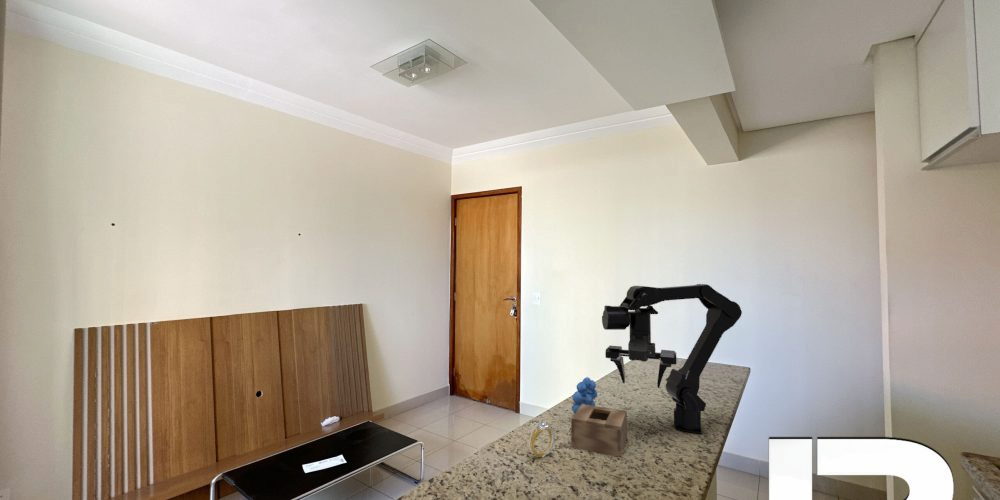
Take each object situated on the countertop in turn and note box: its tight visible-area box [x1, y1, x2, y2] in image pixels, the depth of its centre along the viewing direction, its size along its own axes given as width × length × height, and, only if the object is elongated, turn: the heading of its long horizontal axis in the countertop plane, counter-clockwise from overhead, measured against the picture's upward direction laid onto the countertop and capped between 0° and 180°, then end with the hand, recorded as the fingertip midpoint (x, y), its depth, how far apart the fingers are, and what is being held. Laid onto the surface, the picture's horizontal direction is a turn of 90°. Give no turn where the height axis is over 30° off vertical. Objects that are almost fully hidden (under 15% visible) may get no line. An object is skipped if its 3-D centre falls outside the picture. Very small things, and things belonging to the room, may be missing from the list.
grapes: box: [571, 376, 598, 415], centre depth 117 cm, size 12×7×12 cm, turn 134°
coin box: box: [570, 404, 628, 458], centre depth 100 cm, size 12×12×7 cm
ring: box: [528, 420, 556, 458], centre depth 92 cm, size 7×3×8 cm, turn 118°
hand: (640, 385), depth 109 cm, fingers open, 9 cm apart
